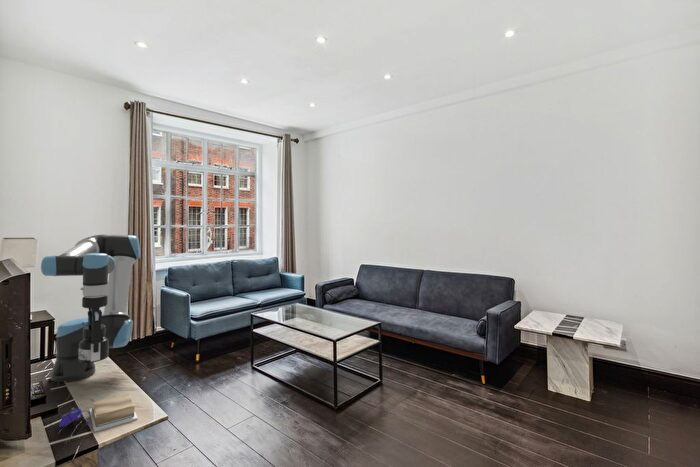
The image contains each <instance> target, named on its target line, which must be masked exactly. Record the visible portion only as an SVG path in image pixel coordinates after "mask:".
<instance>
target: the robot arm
mask: <svg viewBox="0 0 700 467" xmlns="http://www.w3.org/2000/svg"><path fill="white" fill-rule="evenodd" d="M138 259H141V246H140V240H139V237H138V236H137V235H129V234H97V235H92V236H89V237H85V238H83V239H81V240H79V241H77V242H76V243H75V245H74V246H73V247H71V248H69V249H68V250H66V251H65V252H62V253H61V254H59V255H46V256H44V257H43V258H42V260H41V263H40V270H41V274H42V275H44V276H45V277H46V276H47V277H64V276H65V277H71V276H82V287H80V291H82V296H83V297H82V298H81V301H82V302H81V307H82V308H83V309H88V311H87V317H82V318H76V319H72V320H67V321H65V322H63V323H61V324H60V325H59V324H58V326H57V329H56V336H55V337H56V341H55V342H56V346H55V348H56V353H55V354H56V355H55V356H56V357H55V358H56V359H55V362H54V363H53V364H54V365H53V367H52V369H51V372H50V378H49V379H50V381H52V382H55V383H68V382H75V381H79V380H83V379H86V378H88V377H90V376H92V375H93V374H95V373H96V364H95V362H92V361H97V360H100V342H101V341H102V340H101V324H104V325H106V333H105V337H106V338H108V340H109V349H116V348H123V347H125V346H127V345H128V343H129V342H130V339H131V337H132V333H133V326H134V321H133V319H130V318H131V317H130V315H129V314H128V313H127V311H128V301H129V291H130V285H131V275H132V267H133V265H135V264H136V263H137V262H136V261H137V260H138ZM100 308H104V310H103V311H102V310H101V309H100ZM88 325H91V334H92V341H91V342H89V344H91V362H92V363H83V362H80V361H79V343H80V342H81V341H82V340H83V339H84V338H83V327H85V326H88ZM95 339H96V340H95ZM97 362H98V361H97Z"/></svg>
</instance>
